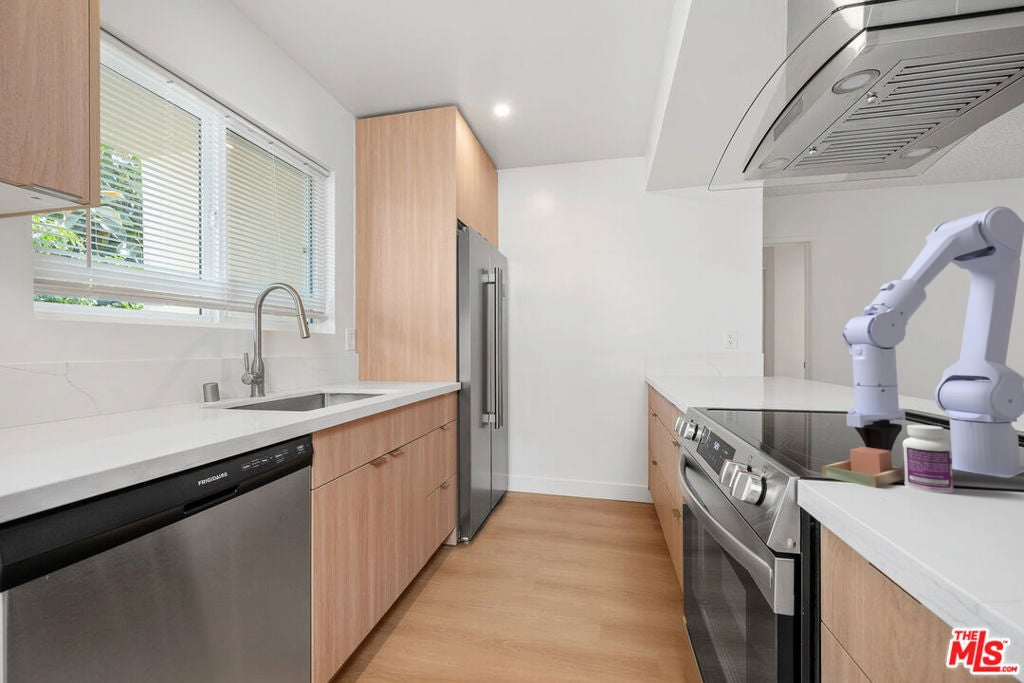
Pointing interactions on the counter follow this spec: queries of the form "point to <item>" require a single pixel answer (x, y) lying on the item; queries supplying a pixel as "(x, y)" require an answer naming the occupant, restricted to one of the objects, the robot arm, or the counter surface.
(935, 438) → the pill bottle
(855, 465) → the red block
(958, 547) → the counter surface
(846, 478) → the box
